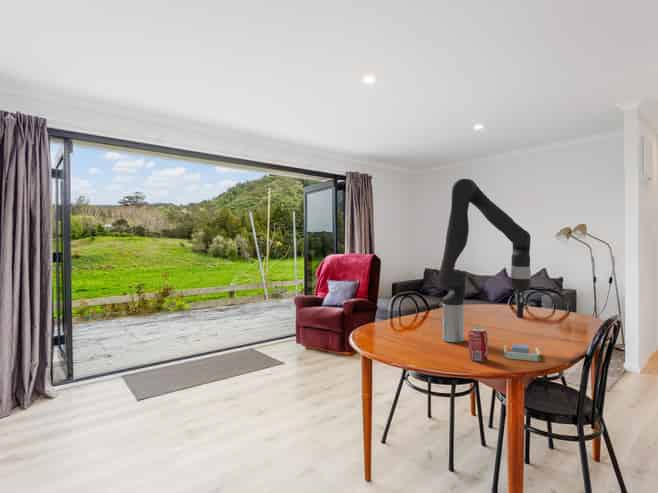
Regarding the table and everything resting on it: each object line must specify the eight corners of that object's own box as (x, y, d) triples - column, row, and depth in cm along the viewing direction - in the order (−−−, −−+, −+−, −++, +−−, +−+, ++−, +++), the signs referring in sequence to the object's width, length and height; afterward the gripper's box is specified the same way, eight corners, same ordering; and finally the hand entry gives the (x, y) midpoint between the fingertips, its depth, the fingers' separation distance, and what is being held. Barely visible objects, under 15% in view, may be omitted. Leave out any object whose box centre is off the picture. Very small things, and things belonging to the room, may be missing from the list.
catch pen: (504, 358, 151) (504, 351, 151) (504, 350, 161) (504, 344, 161) (540, 361, 146) (540, 355, 145) (538, 353, 155) (537, 347, 155)
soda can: (483, 356, 153) (482, 326, 153) (491, 362, 146) (490, 331, 146) (465, 357, 153) (465, 327, 153) (473, 362, 146) (472, 331, 146)
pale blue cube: (512, 357, 152) (512, 347, 152) (511, 353, 157) (511, 343, 157) (529, 359, 150) (529, 348, 150) (528, 354, 155) (527, 344, 155)
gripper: (532, 279, 153) (531, 321, 154) (529, 275, 165) (528, 315, 166) (511, 278, 156) (511, 320, 157) (509, 274, 168) (509, 313, 169)
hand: (520, 317), depth 161 cm, fingers closed
